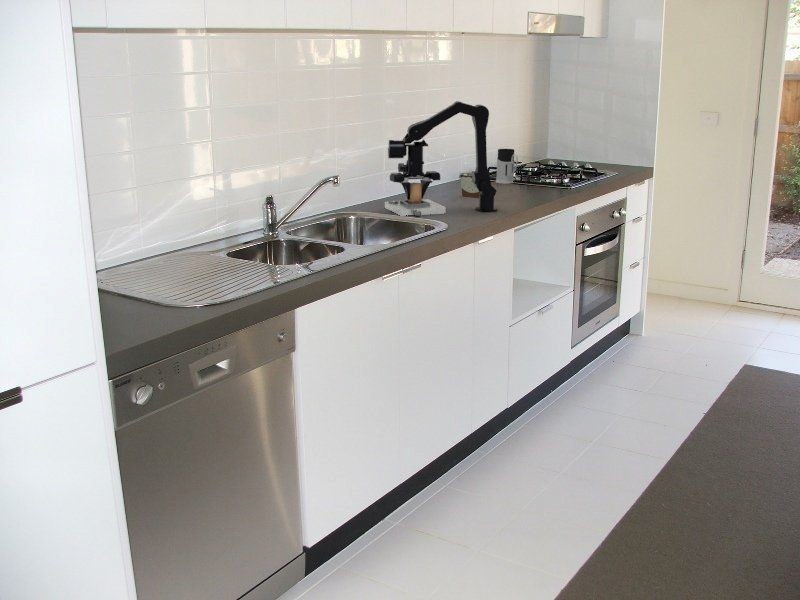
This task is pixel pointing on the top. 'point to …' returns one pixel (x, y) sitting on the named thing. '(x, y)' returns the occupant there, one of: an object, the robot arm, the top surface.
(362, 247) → the top surface
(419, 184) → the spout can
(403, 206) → the gearbox housing
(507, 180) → the grey jug
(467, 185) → the food container
